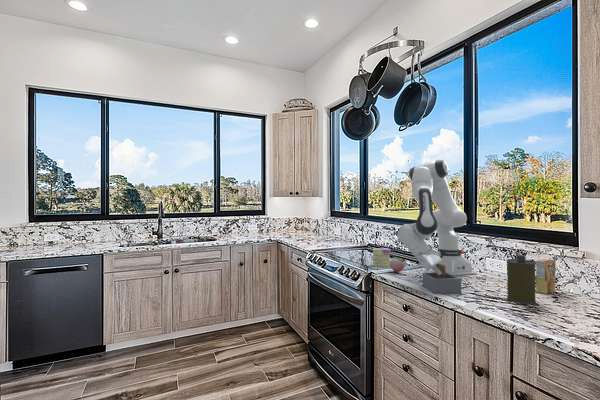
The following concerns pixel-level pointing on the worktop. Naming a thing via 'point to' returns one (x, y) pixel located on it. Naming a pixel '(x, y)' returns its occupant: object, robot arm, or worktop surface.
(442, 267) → the walnut peg
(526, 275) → the canister
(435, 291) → the socket box
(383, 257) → the box
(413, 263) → the fork
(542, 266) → the candy box
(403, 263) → the decorative fruit
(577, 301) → the worktop surface
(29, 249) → the worktop surface
